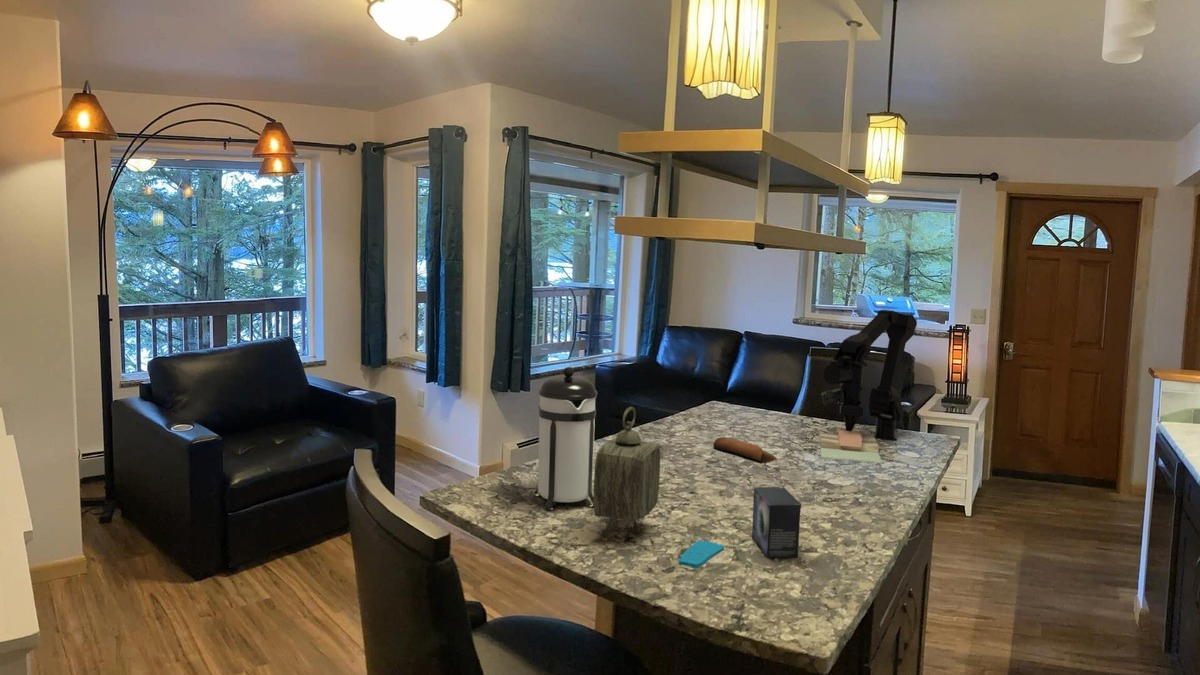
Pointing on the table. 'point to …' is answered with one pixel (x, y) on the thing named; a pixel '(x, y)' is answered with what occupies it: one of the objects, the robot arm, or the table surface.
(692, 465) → the table surface
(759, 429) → the table surface
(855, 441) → the coral tile
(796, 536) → the small box
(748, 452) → the sunglasses case
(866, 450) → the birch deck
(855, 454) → the sage mat
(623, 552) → the table surface
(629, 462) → the tabletop clock
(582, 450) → the coffee press
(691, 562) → the sponge
